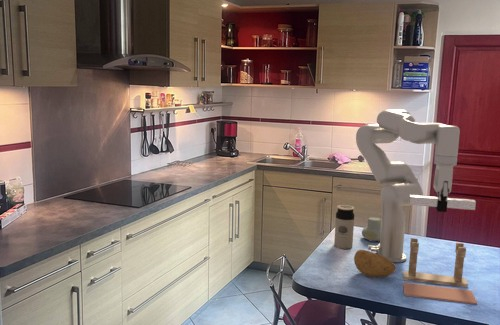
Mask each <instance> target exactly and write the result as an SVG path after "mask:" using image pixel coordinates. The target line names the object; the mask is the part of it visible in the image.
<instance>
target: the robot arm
mask: <svg viewBox="0 0 500 325" xmlns="http://www.w3.org/2000/svg"><path fill="white" fill-rule="evenodd" d="M376 122H377V123H374V124H372V123H368V124H364V125H362V126H360V127H358V129H357V130H356V134H355V143H356V146H357V148H358V150H359V152H360V154H361V155H362V157H363V158H364V159H365V161H366V163H367V165H368V167H369V169H370V171H371V173H372V175H373V177H374V180H376V182H377V183H378V184H380V185H382V186H383V187H382V189H381V191H380V201H381V202H380V203H381V218H380V219H381V233H380V241H379V243H378V244H376V245H369V244H368V247H367V249H368V250H367V251H370V252H373V253H376V254H378V255H381V256H383V257H385V258H387V259H389V260H391V261H392V262H393V263H403V262H405V261H406V260H407V255H406V254H405V253H404V243H405V242H404V241H405V228H406V213H405V212H404V210H403V208H402V207H405V206H411V205H410V204H409V198H410V195H417V196H424V192H423V189H422V186H421V184H420V182H419V181H418V179H417V177H416V175H415V173H414V171H413V170H412V168H411V167H410V165H408V164H407V163H405V162H403V161H391V160H389V158H388V156H387V154H386V153H385V151H384V150H383V149H382V148H381V147H380V146H379V145H377V144H391V143H393V142H395V141H396V140H397V139H399V138H400V139H401V140H404V141H406V142H409V143H413V144H417V145H423V144H424V145H428V144H432V145H433V144H435V147H434V159H433V164H435V170H434V178H433V185H432V186H433V189H434V192H436V197H439V200H438V204H437V207H435V210H436V211H437V212H439V213H441V212H442V213H447V210H448V208H447V202H448V201H447V199H448V198H449V194H450V193H451V192H452V187H453V186H452V185H453V176H454V174H453V172H454V167H455V166H457V165H458V164H457V163H458V155H459V154H458V152H459V144H460V134H461V133H460V132H461V130H460V128H459V127H458V125H449V124H448V125H447V124H444V123H441V122H416V119H415V118H414V117H413V116H412V115H411V113H410V112H409V111H407V110H405V109H386V110H382V111H380V112H379V113H378V114H377V116H376Z"/></svg>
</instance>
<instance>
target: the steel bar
mask: <svg viewBox="0 0 500 325" xmlns="http://www.w3.org/2000/svg"><path fill="white" fill-rule="evenodd" d="M438 200H439V197H437V196H429V195H428V196H427V195H423V196H417V195H410V198H409V204H410V205H409V206H421V207H430V208H431V207H432V208H436V207H437V204H438ZM447 201H448V202H447V209H455V210H456V209H457V210H458V209H459V210H468V211H470V210H471V211H476V204H477V201H476V200H475V199H469V198H457V197H456V198H455V197H448V199H447Z"/></svg>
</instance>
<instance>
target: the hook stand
mask: <svg viewBox="0 0 500 325" xmlns="http://www.w3.org/2000/svg"><path fill="white" fill-rule="evenodd" d="M418 241H419V240H418V238H415V237H413V238H412V237H411V238H410V243H409V247H410V250H409V259H408V260H409V261H408V262H409V263H408V270H403V271H402V278H403V281H409V282H417V283H418V282H419V283H427V284H435V285H442V286H443V285H445V286H453V287H461V288H468V287H469V286H468V285H469V284H468V282H467V280H466V278H465V277H463V272H464V262H465V258H466V252H467V248H466V247H464V245H465V243H464V242H455V262H454V268H453V269H454V270H453V276H451V275H444V274H433V273H425V272H417V265H418V264H417V261H418V253H419V245H420V243H419V242H418Z"/></svg>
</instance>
